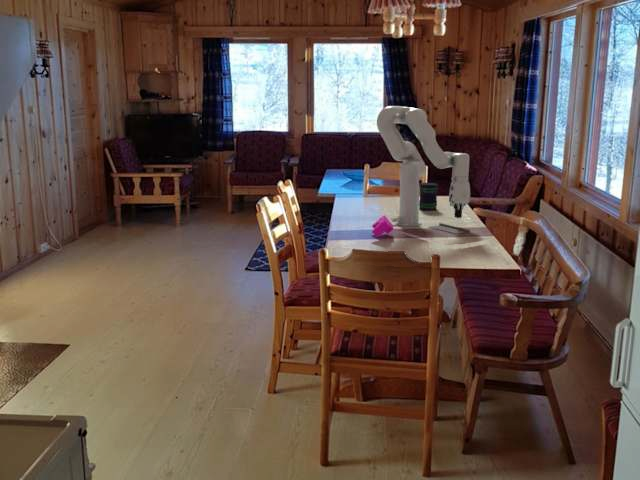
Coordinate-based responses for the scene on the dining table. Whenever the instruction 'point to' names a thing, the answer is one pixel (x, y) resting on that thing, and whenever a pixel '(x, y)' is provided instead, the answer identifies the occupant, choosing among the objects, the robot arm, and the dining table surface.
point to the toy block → (382, 226)
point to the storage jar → (428, 196)
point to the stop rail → (454, 227)
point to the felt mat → (447, 229)
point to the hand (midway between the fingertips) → (458, 217)
